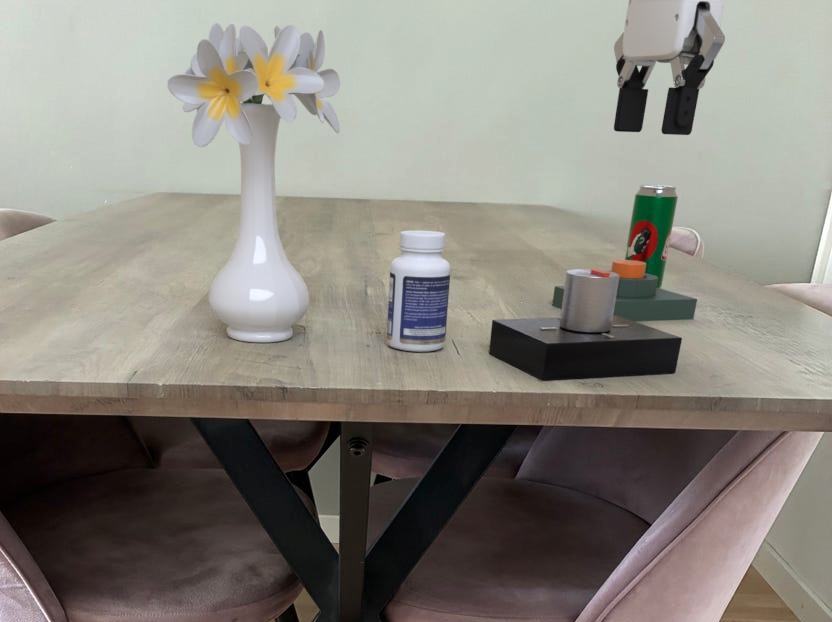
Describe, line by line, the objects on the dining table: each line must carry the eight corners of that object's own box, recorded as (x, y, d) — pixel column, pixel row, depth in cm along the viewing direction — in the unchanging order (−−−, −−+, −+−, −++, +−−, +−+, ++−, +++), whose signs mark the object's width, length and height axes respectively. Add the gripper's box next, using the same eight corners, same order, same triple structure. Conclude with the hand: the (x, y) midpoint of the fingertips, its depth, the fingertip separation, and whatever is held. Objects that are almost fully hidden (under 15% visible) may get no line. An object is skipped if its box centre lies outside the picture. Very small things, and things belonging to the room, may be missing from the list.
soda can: (665, 293, 120) (685, 188, 114) (625, 292, 120) (643, 186, 114) (654, 287, 124) (672, 185, 118) (615, 285, 124) (632, 184, 118)
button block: (640, 303, 113) (647, 267, 111) (693, 319, 105) (701, 281, 103) (551, 306, 109) (556, 269, 107) (599, 323, 101) (605, 283, 99)
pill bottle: (456, 348, 88) (466, 234, 83) (417, 355, 85) (425, 237, 80) (413, 337, 91) (420, 227, 87) (374, 344, 88) (379, 230, 83)
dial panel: (611, 348, 90) (617, 313, 89) (675, 373, 82) (683, 335, 81) (488, 353, 86) (492, 317, 85) (542, 380, 78) (547, 341, 77)
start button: (631, 276, 107) (634, 259, 106) (650, 281, 104) (653, 264, 103) (603, 276, 106) (606, 259, 105) (621, 281, 103) (624, 264, 102)
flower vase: (167, 355, 81) (146, 6, 69) (217, 315, 97) (207, 26, 85) (318, 364, 80) (323, 11, 68) (343, 322, 96) (351, 30, 84)
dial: (550, 323, 84) (557, 265, 82) (594, 322, 85) (602, 265, 83) (575, 333, 80) (584, 273, 78) (620, 332, 82) (630, 272, 79)
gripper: (782, -89, 84) (736, 137, 92) (664, -62, 98) (633, 131, 106) (711, -98, 81) (671, 135, 90) (601, -69, 96) (575, 129, 104)
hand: (650, 132), depth 98 cm, fingers open, 7 cm apart
